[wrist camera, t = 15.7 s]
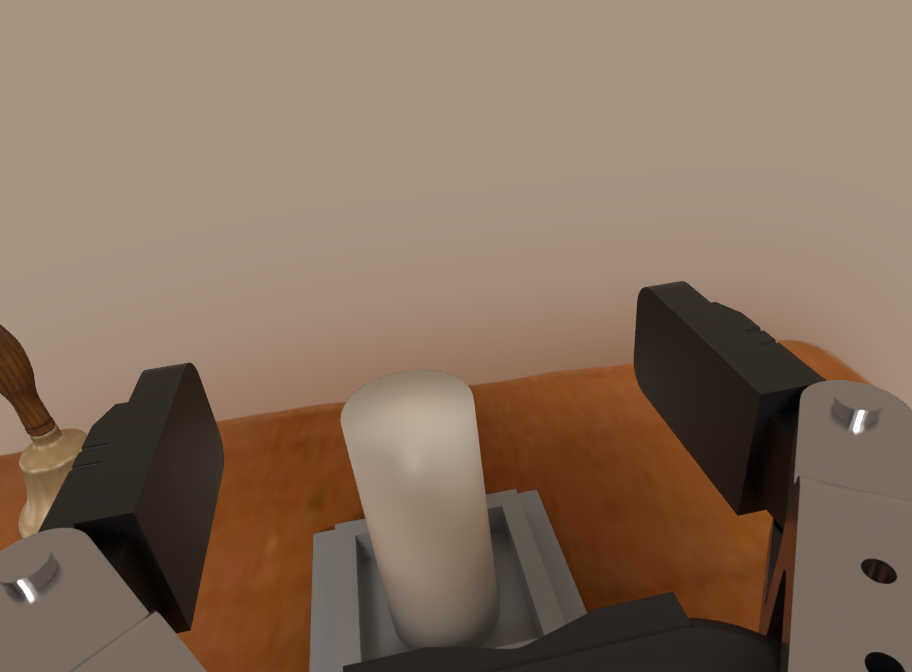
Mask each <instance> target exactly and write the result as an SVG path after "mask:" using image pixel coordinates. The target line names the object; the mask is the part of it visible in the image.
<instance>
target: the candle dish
mask: <svg viewBox="0 0 912 672" xmlns="http://www.w3.org/2000/svg"><path fill="white" fill-rule="evenodd" d="M486 502H487V510H488V518H489V526H490V534H491V542H492V550H493V558H494V566H495V574H496V582H497V590H498V598H499V615H498V619H497V622H496V625H495V627H494V629H493V631H492V632H491V634H490V635H489V636H488V638H487V639H486V640H485V641H484V642H483V643H482V644H481V645H479V646H478V647H477V648H499V649H513V648H519V647H523V646H525V645H527V644H529V643H531V642H533V641H535V640H537V639H539V638H541V637H543V636H545V635H547V634H549V633H550V632H552V631H554V630H556V629H558V628H560V627H562V626H564V625H566V624H568V623H570V622H572V621H574V620H576V619H578V618H579V617H581V616H583V615H585V614H587V611H586V609H585V606H584V604H583V601H582V599H581V597H580V594H579V592H578V589H577V587H576V584H575V582H574V579H573V577H572V574H571V572H570V570H569V567H568V565H567V562H566V560H565V557H564V555H563V552H562V550H561V548H560V545H559V543H558V540H557V538H556V535H555V533H554V530H553V528H552V525H551V523H550V521H549V518H548V516H547V513H546V511H545V508H544V506H543V503H542V501H541V498H540V496H539V494H538V491H537V490H532V491H527V492H522V493H517V490H516V489H512V490H507V491H502V492H497V493H492V494H487V495H486ZM408 651H411V650H410V649H408V648H407V647H406V646H405V645H404V644H403V643H402V642H401V641H400V639H399V638H398V636H397V634H396V632H395V629H394V626H393V622H392V618H391V615H390V611H389V607H388V603H387V599H386V595H385V591H384V588H383V584H382V580H381V576H380V572H379V568H378V565H377V561H376V557H375V553H374V549H373V545H372V542H371V538H370V534H369V530H368V526H367V522H366V518H365V519H360V520H355V521H350V522H345V523H340V524H335V530H330V531H325V532H320V533H315V534H314V538H313V571H312V603H311V636H310V668H309V672H343V666H346V665H350V664H354V663H359V662H363V661H368V660H372V659H377V658H381V657H386V656H390V655H394V654H399V653H403V652H408Z"/></svg>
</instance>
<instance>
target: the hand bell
mask: <svg viewBox="0 0 912 672" xmlns="http://www.w3.org/2000/svg"><path fill="white" fill-rule="evenodd" d="M0 393H1V394H2V395H3V396H4V397H5V398H6V399H8V400H9V402H10V403H11V404H12V405H13V407H14V408H15V410H16V412H17V413H18V416H19V418H20V420H21V422H22V424H23V425H24V427H25V430H26V431H27V433H28V434H29V435H30V437H31V439H32V441H33V443H32V444H30V445H29V446H28V447H27V448H26V449H25V450H24V451H23V453H22V454H21V456H20V459H19V466H20V469H21V472H22V474H23V477H24V480H25V483H26V488H27V502H26V504H25V505H24V507H23V509H22V511H21V514H20V517H19V524H18V528H19V533H20V535H21V536H22V538H26V537H28V536H30V535H33V534H36V533H38V531H39V529H40V527H41V525H42V523H43V521H44V519H45V517H46V515H47V513H48V511H49V509H50V507H51V505H52V504H53V502H54V500H55V498H56V496H57V494H58V492H59V490H60V488H61V486H62V484H63V482H64V480H65V478H66V476H67V474H68V472H69V471H72V465H73V463H74V461H75V459H76V457H77V455H78V453H79V452H82V449H81V447H82V445H83V443H84V441H85V439H86V438H87V436H88V435H87V434H86V433H84V432H83V431H81V430H77V429H65V430H60V429H59V428H58V426H57V425H56V423H55V421H54V420H53V418H52V417H51V416H50V414H49V412H48V411H47V409H46V408H45V406H44V405H43V403H42V401H41V400H40V398H39V396H38V394H37V391H36V387H35V380H34V373H33V369H32V367H31V364H30V361H29V359H28V357H27V355H26V353H25V351H24V349H23V347H22V346H21V344H20V343H19V342H18V340H17V339H16V338H15V337H14V336H13V335H12V334H11V333H10V332H9V331H7V330H6V329H5V328H4V327H3V326H2V325H0Z"/></svg>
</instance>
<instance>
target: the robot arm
mask: <svg viewBox="0 0 912 672" xmlns="http://www.w3.org/2000/svg"><path fill="white" fill-rule="evenodd" d="M634 370H635V375H636V379H637V382H638V384H639V387H640V389H641V390H642V392H643V393H644V395H645V396H646V397H647V399H648V400H649V401H650V403H651V404H652V405H653V406H654V408H655V409H656V410H657V412H658V413H659V414H660V416H661V417H662V418H663V419H664V421H665V422H666V423H667V425H668V426H669V427H670V428H671V430H672V431H673V432H674V434H675V435H676V436H677V438H678V439H679V440H680V441H681V443H682V444H683V445H684V447H685V448H686V449H687V451H688V452H689V453H690V454H691V456H692V457H693V458H694V460H695V461H696V462H697V464H698V465H699V466H700V467H701V469H702V470H703V471H704V473H705V474H706V475H707V477H708V478H709V479H710V480H711V482H712V483H713V484H714V486H715V487H716V488H717V489H718V491H719V492H720V493H721V495H722V496H723V497H724V499H725V500H726V501H727V502H728V504H729V505H730V506H731V508H732V509H733V510H734V512H735V513H736V514H737V515H738V516H739V515H743V514H748V513H753V512H757V511H762V510H767V511H768V512H769V513H770V514H771V515H772V517H773V520H772V525H771V529H770V533H769V542H768V551H767V560H766V569H765V578H764V588H763V597H762V606H761V615H760V623H759V630H758V632H755V631H752V630H749V629H746V628H743V627H740V626H737V625H733V624H729V623H725V622H721V621H716V620H708V619H701V618H688V617H687V616H686V614H685V612H684V610H683V609H682V607H681V605H680V603H679V602H678V600H677V598H676V596H675V595H674V593H673V592H670V593H665V594H661V595H656V596H652V597H647V598H643V599H639V600H634V601H630V602H625V603H621V604H616V605H612V606H608V607H603V608H599V609H595V610H593V611H591V612H589V613H587V614H585V615H583V616H581V617H579V618H578V619H576V620H574V621H572V622H570V623H568V624H566V625H564V626H562V627H560V628H558V629H556V630H554V631H552V632H550V633H549V634H547V635H545V636H543V637H541V638H539V639H537V640H535V641H533V642H531V643H529V644H527V645H525V646H523V647H519V648H513V649H499V648H449V647H426V648H421V649H417V650H412V651H408V652H403V653H399V654H394V655H390V656H386V657H381V658H377V659H372V660H368V661H363V662H359V663H354V664H350V665H346V666H343V672H912V410H911V409H910V408H909V407H908V406H907V404H906V403H904V402H903V401H901V400H900V399H899V398H897V397H896V396H894V395H893V394H891V393H889V392H887V391H884V390H882V389H880V388H877V387H874V386H871V385H867V384H864V383H859V382H853V381H844V380H831V381H826V380H825V379H824V378H822V377H821V376H820V375H819V374H817V373H816V372H815V371H814V370H812V369H811V368H810V367H809V366H807V365H806V364H805V363H804V362H802V361H801V360H800V359H799V358H797V357H796V356H795V355H794V354H792V353H791V352H790V351H789V350H787V349H786V348H785V347H784V346H782V345H781V344H780V343H777V344H776V342H775V339H774V338H772V337H771V336H770V335H769V334H767V333H766V332H765V331H761V330H760V327H759V326H757V325H756V324H755V323H754V322H752V321H751V320H750V319H749V318H747V317H746V316H745V315H744V314H742V313H741V312H738V311H736V310H733V309H731V308H729V307H726V306H724V305H721V304H719V303H717V302H713V303H710V302H709V301H708V300H707V299H706V298H704V297H703V296H702V295H701V294H700V293H699V292H697V291H696V290H695V289H694V288H692V287H691V286H690V285H689V284H688V283H686V282H684V281H680V282H674V283H668V284H662V285H656V286H650V287H644V288H642V289H641V291H640V292H639V295H638V301H637V314H636V331H635V347H634ZM81 449H82V452H79V453H78V455H77V457H76V459H75V461H74V463H73V465H72V471H69V472H68V474H67V476H66V478H65V480H64V482H63V484H62V486H61V488H60V490H59V492H58V494H57V496H56V498H55V500H54V502H53V504H52V505H51V507H50V509H49V511H48V513H47V515H46V517H45V519H44V521H43V523H42V525H41V527H40V529H39V531H38V533H36V534H33V535H30V536H28V537H26V538H23V539H21V540H19V541H17V542H15V543H13V544H12V545H10V546H8V547H7V548H5V549H4V550H2V551H1V552H0V672H207V671H206V670H205V669H204V668H203V666H202V665H201V664H200V663H199V661H198V660H197V659H196V658H195V657H194V655H193V654H192V653H191V652H190V650H189V649H188V648H187V647H186V645H185V644H184V643H183V642H182V640H181V639H180V638H179V637H178V636H177V634H176V633H180V632H185V631H190V630H191V626H192V621H193V616H194V611H195V606H196V601H197V596H198V591H199V586H200V582H201V577H202V572H203V567H204V562H205V557H206V552H207V547H208V542H209V537H210V532H211V527H212V523H213V518H214V513H215V508H216V503H217V498H218V493H219V488H220V483H221V478H222V473H223V468H224V453H223V445H222V440H221V436H220V433H219V430H218V427H217V424H216V421H215V419H214V416H213V413H212V410H211V408H210V404H209V402H208V399H207V396H206V393H205V391H204V388H203V385H202V382H201V379H200V376H199V374H198V372H197V369H196V368H195V366H194V365H193V364H192V363H184V364H179V365H172V366H167V367H161V368H155V369H149V370H144V371H143V372H142V374H141V376H140V378H139V380H138V382H137V384H136V387H135V389H134V391H133V393H132V395H131V398H130V400H129V402H127V403H121V404H115V405H114V406H113V407H112V408H111V409H110V410H109V411H108V412H107V413H106V414H105V415H104V416H103V417H102V418H101V419H99V420H98V421H97V422H96V423H95V424H94V425H93V426H92V428H91V430H90V432H89V434H88V436H87V438H86V439H85V441H84V443H83V445H82V447H81Z"/></svg>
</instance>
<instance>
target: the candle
mask: <svg viewBox="0 0 912 672" xmlns="http://www.w3.org/2000/svg"><path fill="white" fill-rule="evenodd" d="M341 426H342V430H343V434H344V438H345V442H346V445H347V449H348V453H349V457H350V461H351V465H352V469H353V472H354V476H355V480H356V484H357V488H358V492H359V495H360V499H361V503H362V507H363V511H364V515H365V518H366V522H367V526H368V530H369V534H370V538H371V542H372V545H373V549H374V553H375V557H376V561H377V565H378V568H379V572H380V576H381V580H382V584H383V588H384V591H385V595H386V599H387V603H388V607H389V611H390V615H391V618H392V622H393V626H394V629H395V632H396V634H397V636H398V638H399V639H400V641H401V642H402V643H403V644H404V645H405V646H406V647H407V648H408V649H410V650H411V651H412V650H417V649H421V648H426V647H449V648H477V647H478V646H479V645H481V644H482V643H483V642H484V641H485V640H486V639H487V638H488V636H489V635H490V634H491V632H492V631H493V629H494V627H495V625H496V622H497V619H498V615H499V598H498V590H497V582H496V574H495V566H494V558H493V550H492V542H491V534H490V526H489V518H488V510H487V502H486V494H485V486H484V478H483V470H482V462H481V454H480V446H479V438H478V430H477V422H476V414H475V406H474V398H473V394H472V392H471V390H470V388H469V387H468V386H467V385H466V384H465V383H464V382H463V381H462V380H460V379H459V378H457V377H455V376H453V375H450V374H448V373H444V372H440V371H434V370H409V371H403V372H398V373H393V374H390V375H386V376H384V377H381V378H378V379H376V380H374V381H372V382H370V383H368V384H367V385H365V386H363V387H362V388H360V389H359V390H358V391H357V392H355V393H354V394H353V395H352V396H351V397H350V398H349V400H348V401H347V402H346V404H345V406H344V408H343V410H342V413H341Z"/></svg>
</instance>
